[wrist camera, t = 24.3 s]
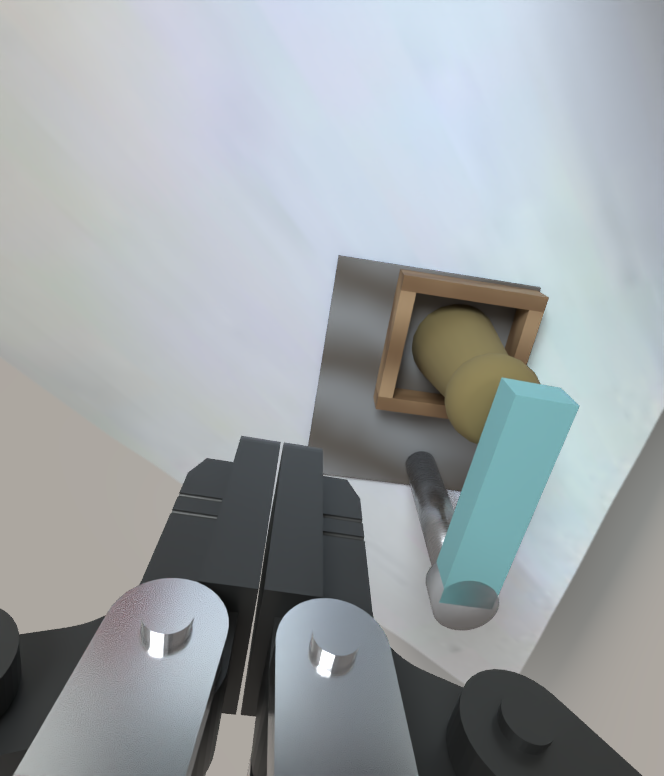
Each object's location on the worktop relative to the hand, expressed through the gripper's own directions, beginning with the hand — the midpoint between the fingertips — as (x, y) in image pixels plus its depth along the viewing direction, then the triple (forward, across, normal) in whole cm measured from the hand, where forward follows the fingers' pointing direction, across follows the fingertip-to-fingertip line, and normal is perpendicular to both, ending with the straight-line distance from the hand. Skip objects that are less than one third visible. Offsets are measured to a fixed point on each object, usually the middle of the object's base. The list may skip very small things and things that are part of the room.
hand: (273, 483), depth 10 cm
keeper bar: (+15, -11, +9) cm, 21 cm away
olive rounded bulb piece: (+27, -11, +4) cm, 30 cm away
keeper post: (+27, -12, +15) cm, 33 cm away
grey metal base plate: (+27, -9, +8) cm, 30 cm away
